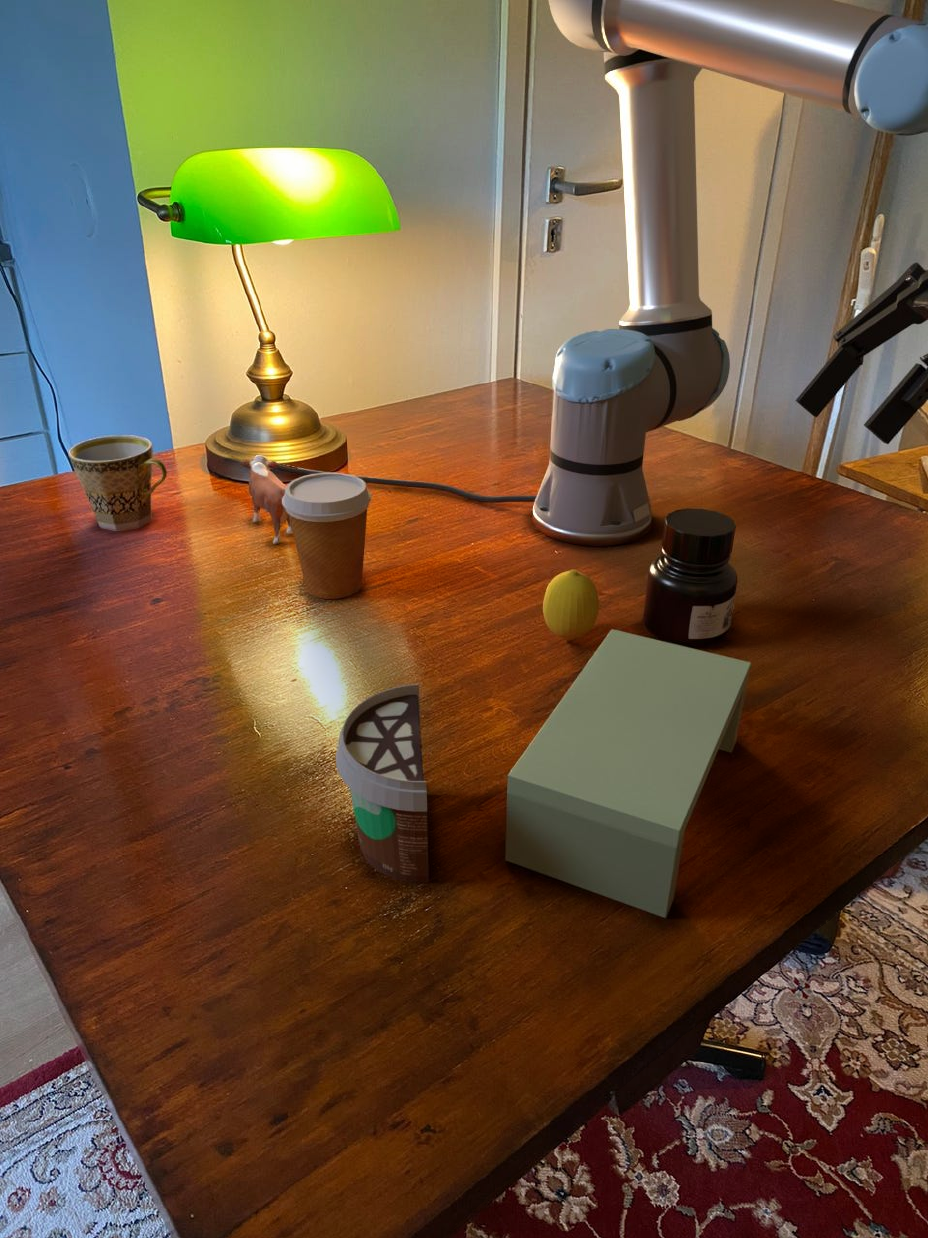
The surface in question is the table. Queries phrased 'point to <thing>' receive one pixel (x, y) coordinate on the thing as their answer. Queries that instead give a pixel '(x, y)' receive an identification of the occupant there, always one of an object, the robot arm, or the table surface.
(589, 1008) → the table surface
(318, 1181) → the table surface
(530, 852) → the shelf
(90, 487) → the ceramic cup
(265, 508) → the bull figurine
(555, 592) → the lemon
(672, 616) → the ink bottle
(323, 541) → the disposable coffee cup
